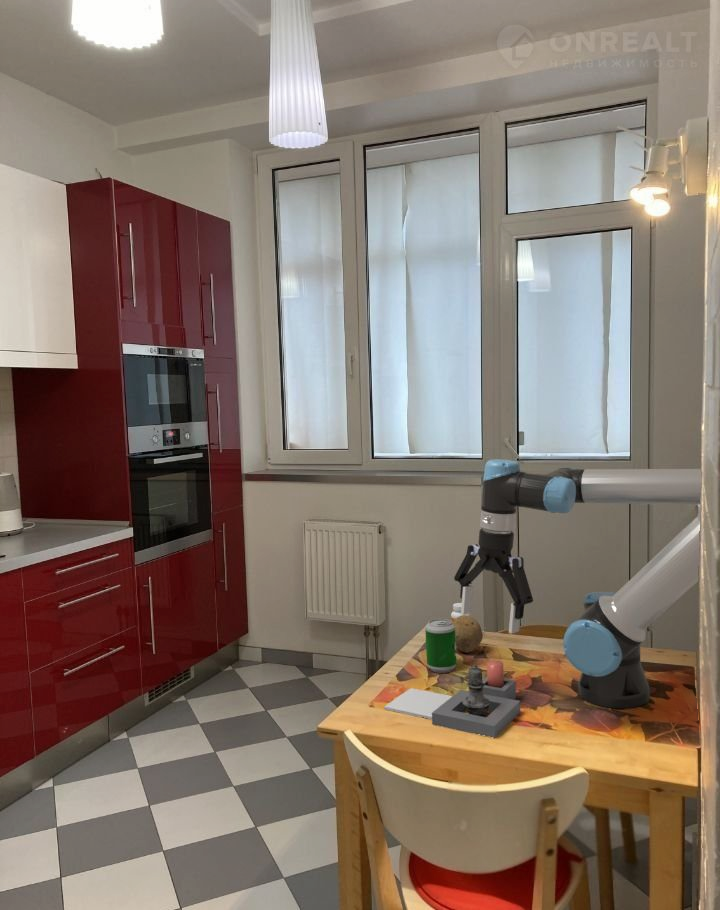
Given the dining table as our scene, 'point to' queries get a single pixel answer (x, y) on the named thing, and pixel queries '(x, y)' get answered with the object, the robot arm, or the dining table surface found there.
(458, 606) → the supplement bottle
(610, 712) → the dining table surface
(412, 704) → the grey mat
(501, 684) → the plunger
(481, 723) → the socket housing
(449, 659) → the soda can
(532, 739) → the dining table surface
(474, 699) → the dark grey figurine
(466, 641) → the brown potato
